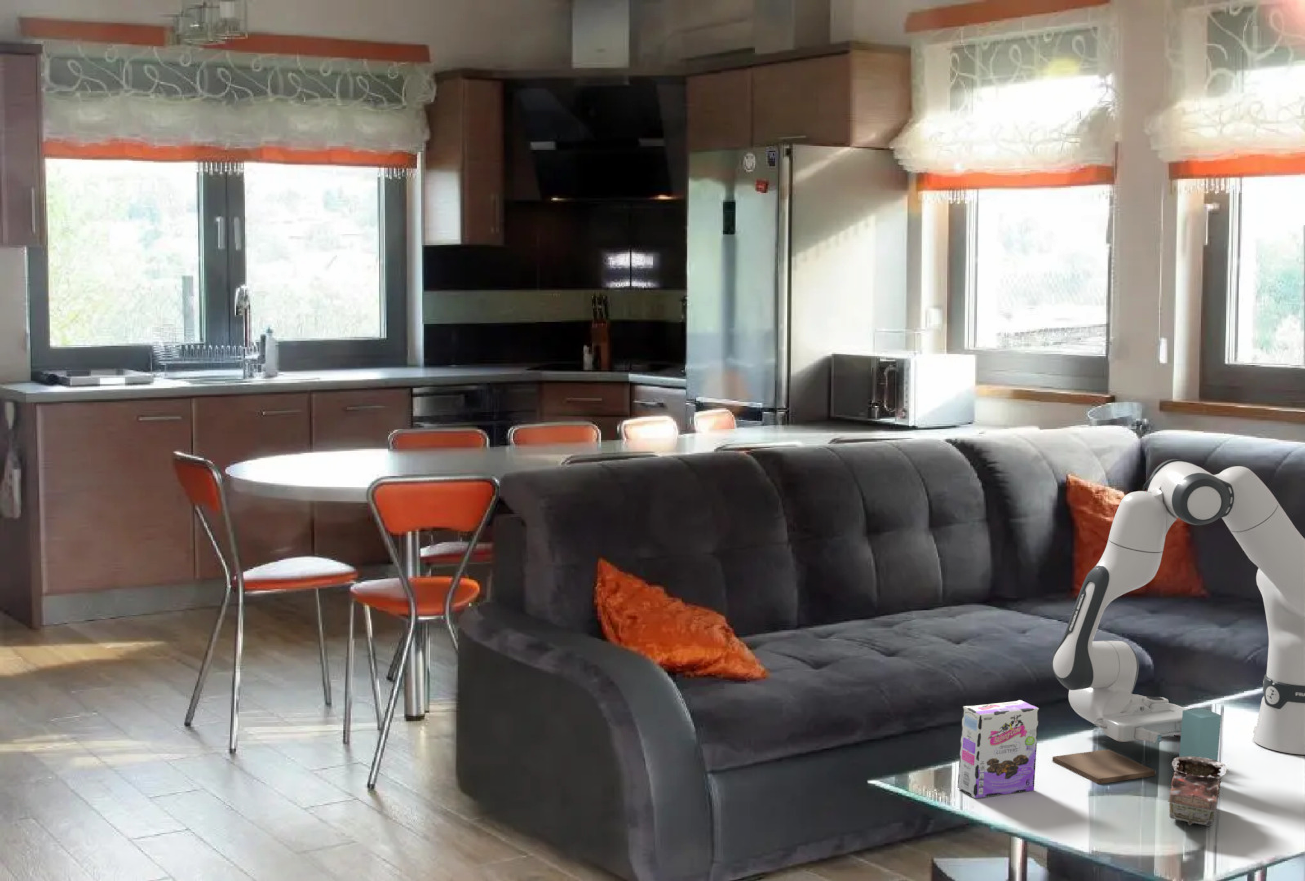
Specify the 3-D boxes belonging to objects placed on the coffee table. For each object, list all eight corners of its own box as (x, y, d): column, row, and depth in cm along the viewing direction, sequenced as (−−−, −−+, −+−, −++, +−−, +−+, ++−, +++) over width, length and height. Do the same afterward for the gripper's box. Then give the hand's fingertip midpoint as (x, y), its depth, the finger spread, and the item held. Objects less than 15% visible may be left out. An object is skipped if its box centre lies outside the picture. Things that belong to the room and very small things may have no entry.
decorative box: (1247, 812, 310) (1251, 761, 309) (1230, 846, 292) (1234, 793, 291) (1174, 798, 316) (1178, 749, 315) (1152, 832, 299) (1156, 779, 297)
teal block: (1197, 777, 329) (1202, 708, 327) (1215, 785, 324) (1221, 715, 322) (1177, 780, 327) (1182, 710, 325) (1195, 788, 322) (1201, 717, 320)
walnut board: (1107, 753, 341) (1108, 749, 341) (1155, 775, 329) (1155, 770, 329) (1052, 761, 335) (1052, 756, 335) (1098, 783, 323) (1098, 778, 323)
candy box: (974, 799, 312) (979, 714, 310) (956, 789, 318) (961, 705, 315) (1035, 791, 318) (1040, 707, 316) (1016, 781, 323) (1021, 698, 321)
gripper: (1090, 706, 338) (1136, 726, 325) (1169, 696, 346) (1217, 715, 334) (1088, 736, 339) (1134, 757, 326) (1167, 726, 347) (1215, 746, 335)
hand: (1177, 736), depth 330 cm, fingers open, 8 cm apart
